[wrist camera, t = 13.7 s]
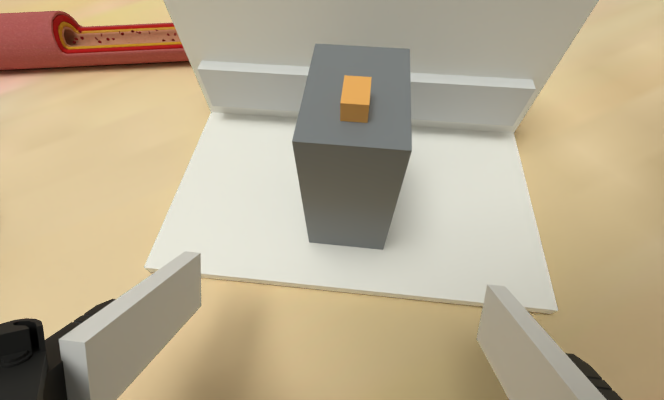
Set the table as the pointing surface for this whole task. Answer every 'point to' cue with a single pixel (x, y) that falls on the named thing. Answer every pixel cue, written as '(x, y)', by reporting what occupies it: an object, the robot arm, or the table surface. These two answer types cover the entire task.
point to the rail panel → (424, 164)
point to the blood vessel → (82, 42)
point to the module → (353, 142)
